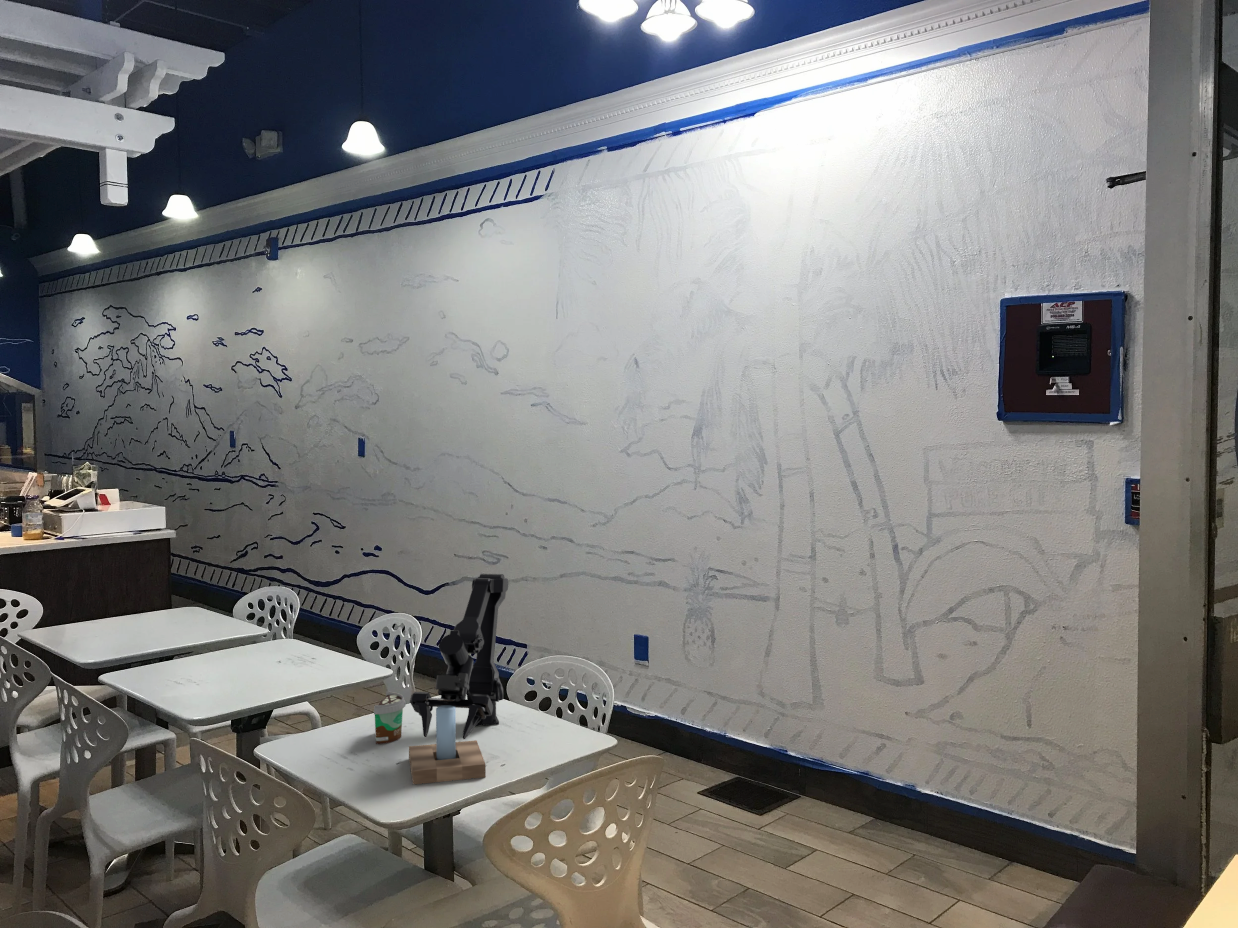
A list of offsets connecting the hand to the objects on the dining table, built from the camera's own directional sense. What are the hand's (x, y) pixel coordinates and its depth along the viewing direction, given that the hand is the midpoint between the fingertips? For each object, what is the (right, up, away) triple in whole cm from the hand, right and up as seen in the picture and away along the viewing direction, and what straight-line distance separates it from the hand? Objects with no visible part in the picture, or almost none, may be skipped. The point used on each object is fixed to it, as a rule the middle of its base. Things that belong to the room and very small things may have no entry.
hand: (444, 737), depth 220 cm
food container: (-17, -7, +22) cm, 28 cm away
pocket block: (0, -8, +2) cm, 8 cm away
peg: (0, -8, +2) cm, 8 cm away
